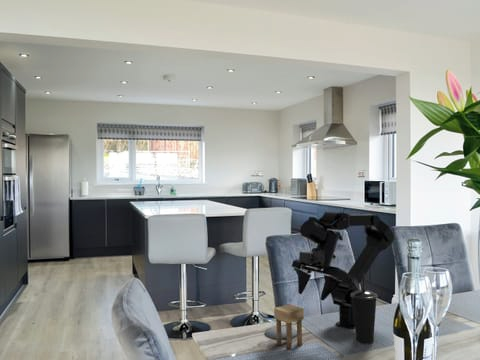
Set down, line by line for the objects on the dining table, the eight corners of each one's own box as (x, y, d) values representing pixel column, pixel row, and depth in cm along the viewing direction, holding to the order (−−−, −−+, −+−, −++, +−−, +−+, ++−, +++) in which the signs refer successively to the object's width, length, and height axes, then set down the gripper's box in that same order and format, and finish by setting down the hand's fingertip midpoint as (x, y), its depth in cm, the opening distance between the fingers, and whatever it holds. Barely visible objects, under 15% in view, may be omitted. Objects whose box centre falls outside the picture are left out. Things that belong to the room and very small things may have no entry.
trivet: (277, 325, 139) (277, 324, 139) (303, 332, 132) (303, 330, 132) (258, 334, 131) (258, 332, 131) (285, 341, 124) (285, 339, 124)
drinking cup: (348, 343, 123) (347, 274, 123) (354, 334, 130) (353, 269, 130) (375, 347, 119) (374, 276, 119) (380, 338, 126) (379, 271, 126)
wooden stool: (289, 339, 127) (289, 304, 127) (304, 345, 122) (303, 308, 122) (274, 344, 123) (274, 308, 123) (289, 350, 118) (288, 312, 118)
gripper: (288, 236, 136) (272, 283, 132) (332, 242, 121) (316, 295, 117) (310, 248, 142) (295, 293, 138) (355, 256, 127) (340, 306, 123)
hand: (310, 296), depth 128 cm, fingers open, 9 cm apart
